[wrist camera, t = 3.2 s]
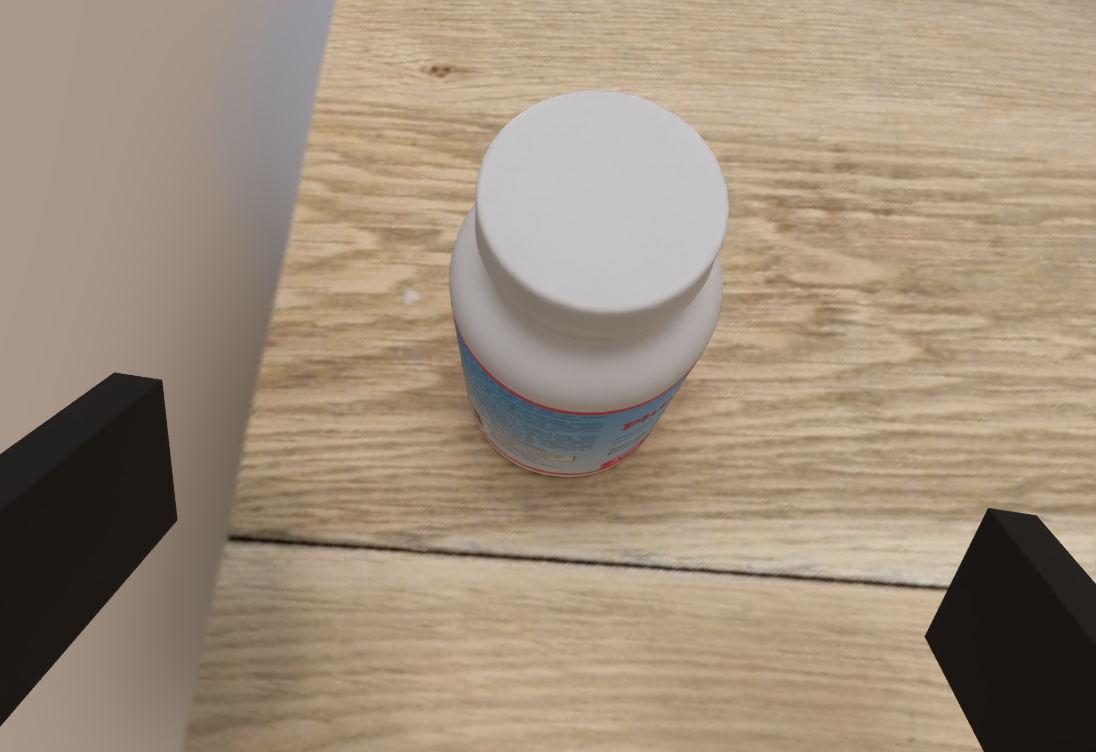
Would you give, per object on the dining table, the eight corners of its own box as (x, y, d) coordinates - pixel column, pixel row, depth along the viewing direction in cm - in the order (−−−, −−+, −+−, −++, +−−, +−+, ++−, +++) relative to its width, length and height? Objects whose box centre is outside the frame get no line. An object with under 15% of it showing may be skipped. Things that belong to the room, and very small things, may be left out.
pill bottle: (641, 500, 23) (753, 389, 12) (448, 458, 23) (390, 312, 12) (670, 322, 25) (790, 92, 14) (493, 285, 25) (477, 29, 14)
